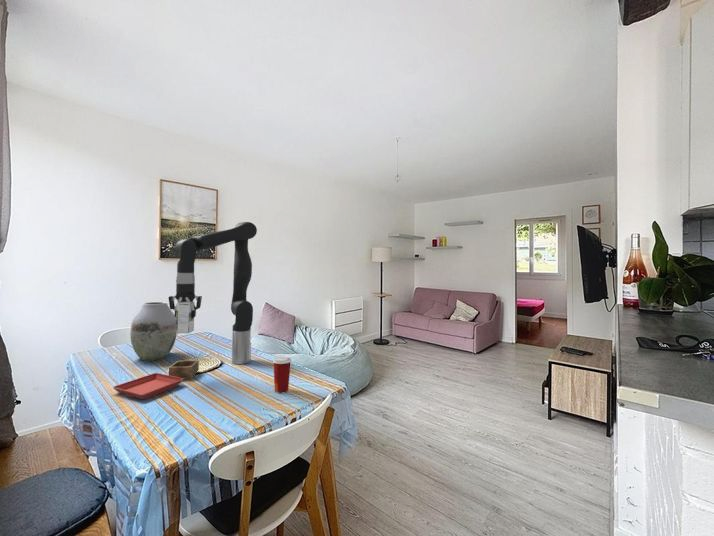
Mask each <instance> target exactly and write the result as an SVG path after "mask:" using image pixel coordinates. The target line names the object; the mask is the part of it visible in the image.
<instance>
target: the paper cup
mask: <svg viewBox="0 0 714 536" xmlns="http://www.w3.org/2000/svg"><path fill="white" fill-rule="evenodd" d="M272 363H273V381H274V382H273V384H274V385H273V386H274V387H273V388H274V392H275V393H276V392H279V393H278V394H283V393H282V392H285V393H287V392H288V391H289V385H290V375H291V374H290V373H291V363H292V359H291V356H290V355H285V354H284V355H277V356H275V357H274V358H273V360H272ZM286 391H287V392H286Z"/></svg>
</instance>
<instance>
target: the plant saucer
mask: <svg viewBox="0 0 714 536" xmlns="http://www.w3.org/2000/svg"><path fill="white" fill-rule="evenodd" d="M182 381H184V379H183V378H179V377H174V376H169V374H163V373H158V372H154V373H151V374H147V375H144V376H141V377H138V378H135V379H133V380H130V381H126V382H124V383H123V382H122V383H120V384H117V385H114V386H112V388H113V389H114V390H115V391H116V392H117V393H119V394H122V395H126V396H128V395H129V397H131V398H132V397H133V398H136V399H139V400H146V399H149V398H151V397H154V396H157V395H159V394H161V393H164V392H166V391H169V390H171V389H174V388H176V387H178V386H179V385H180V384H181V382H182Z"/></svg>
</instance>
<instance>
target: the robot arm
mask: <svg viewBox="0 0 714 536" xmlns="http://www.w3.org/2000/svg"><path fill="white" fill-rule="evenodd" d="M257 233H258V228H257V227H256V225H255V224H254V223H252V222H250V221H243V222H238V223H237V224H235V225H234V227H232V228H228V229H224V230H219V231H214V232H208V233H205V234H202V235H198V236H194V237H189V238H184V239H180V240H178V241H177V242H176V243H175V246H174V248H175V251H176V253H178V254H180V255H179V260H178V261H177V264H176V266H177V267H176V280H175V281H176V282H175V283H176V284H175V290H176V291H175V293H176V294H175V295H170V296H168V304H169V305H168V306H169V308H170V309H171V310H172V311H174V315H175V317H176V305H177V303H176V304H175V300H176V301H177V302H190V306H191V309H192V311H191V318H194V319H195V318H196V316H197V310H199V309H200V308H201V306H202V300H203V299H202V298H203V297H202V296H201V295H196V294H195V291H196V290H195V289H196V283H195V281H196V279H195V278H196V276H195V275H196V274H195V263H196V262H195V261H196V257H197V253H198V251H202V250H203V251H204V250H208V249H211V248H215V247H218V246H221V245H225V244H228V243H230V242H234V256H233V257H234V262H233V282H232V283H233V287H232V288H233V289H232V298H231V303H230V310H231V313H232V315H234V316H235V320H234V324H233V325H232V332H231V333H232V336H231V338H232V342H231V363H232V364H233V365H234V364H235V365H243V364H249V363H250V361H251V360H252V342H251V337H252V336H251V333H252V332H251V331H252V325H253V319H254V307H253V305H252V303H251V302H250V301H248V300H247V294H248V293H247V291H248V287H249V284H250V282H251V280H252V274H253V271H252V270H253V262H252V258H251V255H250V253H249V240H251V239H253V238H254V237H256V235H257ZM194 300H195V301H196V304H195V303H193V304H192V303H191V302H193V301H194Z"/></svg>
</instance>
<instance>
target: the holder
mask: <svg viewBox="0 0 714 536" xmlns="http://www.w3.org/2000/svg"><path fill="white" fill-rule="evenodd" d="M199 363H200V361H199V359H198V360H196V359H195V360H193V359H191V360H189V359H188V360H176V361H175V362H174V363H172V364H171V365H170V366H168V375H169V376H174V377H179V378H183V380H193V378H194V377H195V376H196V375H197V374H196V372H197V371H198V370H199V367H200V366H199ZM198 372H199V371H198ZM195 374H196V375H195Z"/></svg>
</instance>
